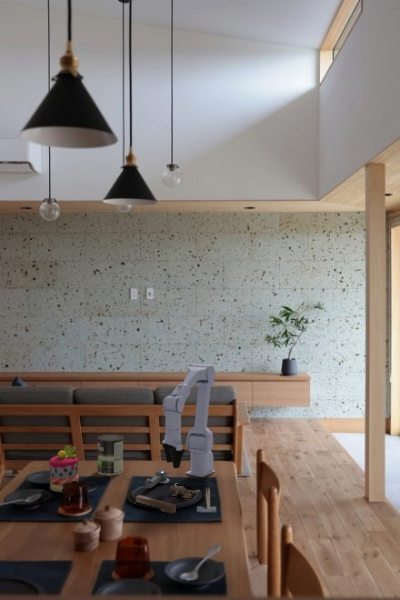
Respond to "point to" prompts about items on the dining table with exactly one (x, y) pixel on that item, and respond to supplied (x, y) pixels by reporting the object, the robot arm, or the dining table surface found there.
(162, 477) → the crank
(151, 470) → the dining table surface
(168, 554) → the dining table surface
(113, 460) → the coffee can
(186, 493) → the frog figurine
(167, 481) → the crank base plate
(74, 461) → the cake
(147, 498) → the brown wooden bar
